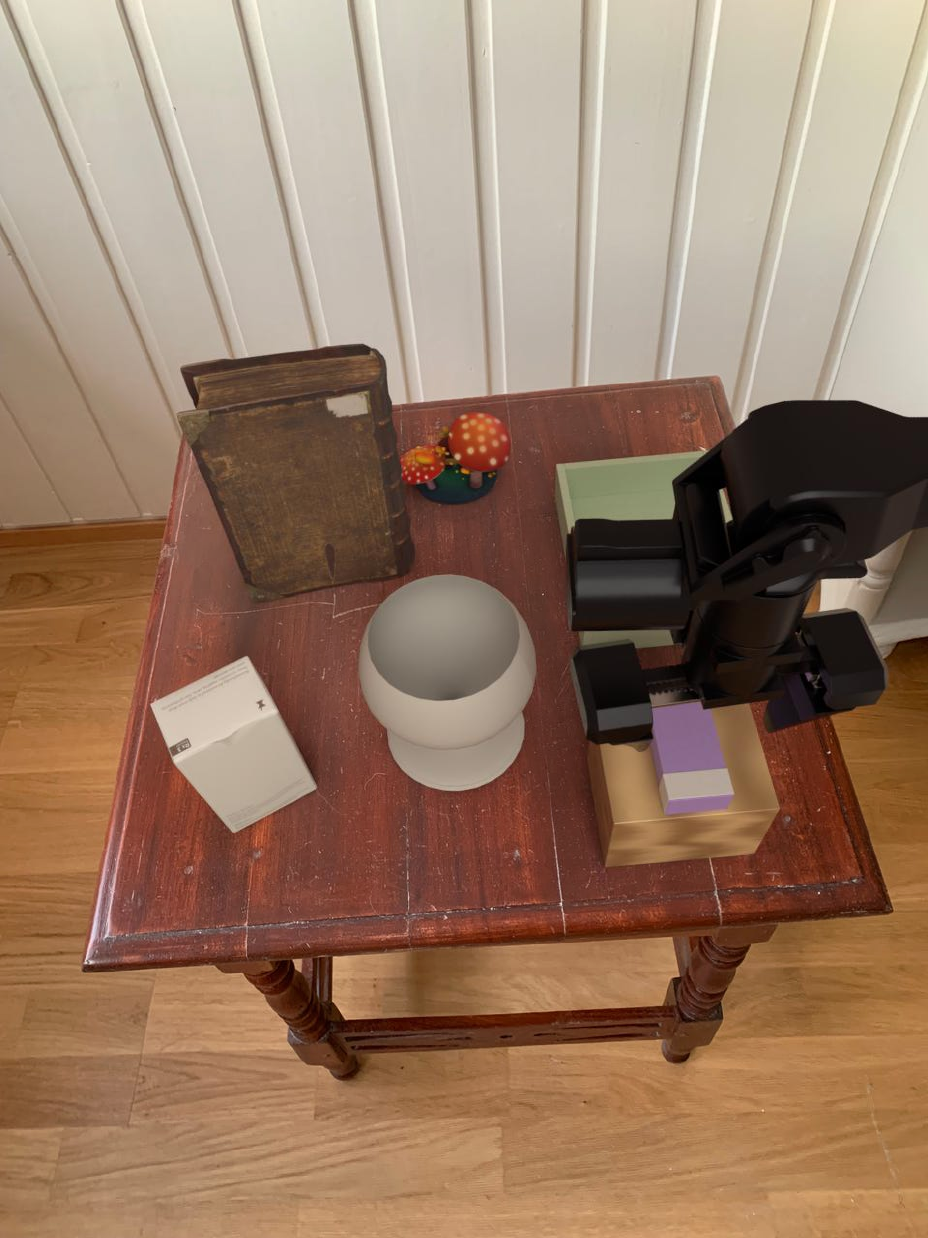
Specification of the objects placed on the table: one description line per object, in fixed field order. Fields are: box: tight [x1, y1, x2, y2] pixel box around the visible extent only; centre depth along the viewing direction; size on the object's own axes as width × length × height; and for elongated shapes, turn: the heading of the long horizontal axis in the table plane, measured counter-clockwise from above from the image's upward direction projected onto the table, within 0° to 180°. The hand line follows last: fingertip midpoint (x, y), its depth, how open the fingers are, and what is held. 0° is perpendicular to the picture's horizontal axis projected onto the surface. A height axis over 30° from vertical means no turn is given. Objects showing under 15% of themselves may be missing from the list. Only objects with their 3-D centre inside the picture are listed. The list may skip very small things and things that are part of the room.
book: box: [176, 343, 416, 603], centre depth 81 cm, size 17×7×25 cm, turn 93°
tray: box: [554, 449, 732, 649], centre depth 87 cm, size 16×20×5 cm
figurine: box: [399, 411, 512, 505], centre depth 94 cm, size 12×9×8 cm
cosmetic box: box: [149, 655, 318, 834], centre depth 71 cm, size 8×6×15 cm
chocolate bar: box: [650, 690, 734, 815], centre depth 66 cm, size 5×9×2 cm, turn 4°
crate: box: [586, 703, 781, 868], centre depth 71 cm, size 12×10×9 cm
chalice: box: [358, 574, 537, 792], centre depth 74 cm, size 14×14×15 cm
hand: (703, 736), depth 63 cm, fingers open, 9 cm apart
